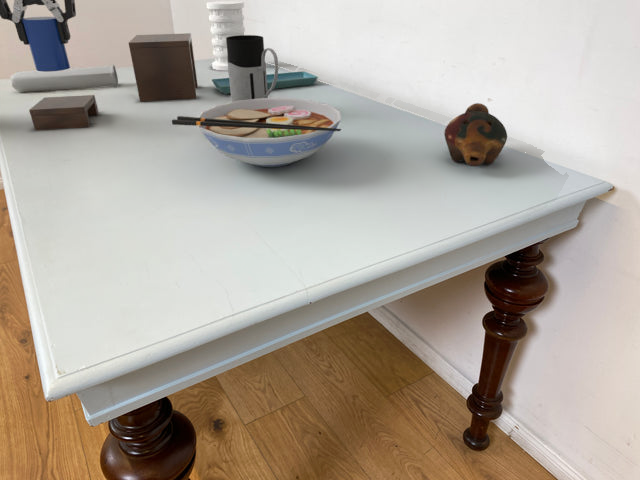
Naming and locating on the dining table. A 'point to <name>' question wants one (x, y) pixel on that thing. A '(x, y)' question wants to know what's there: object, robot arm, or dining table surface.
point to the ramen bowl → (267, 129)
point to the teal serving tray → (282, 81)
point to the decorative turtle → (475, 136)
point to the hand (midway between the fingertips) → (46, 43)
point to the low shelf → (63, 112)
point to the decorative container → (224, 28)
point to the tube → (65, 79)
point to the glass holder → (248, 67)
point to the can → (46, 44)
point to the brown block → (164, 66)
